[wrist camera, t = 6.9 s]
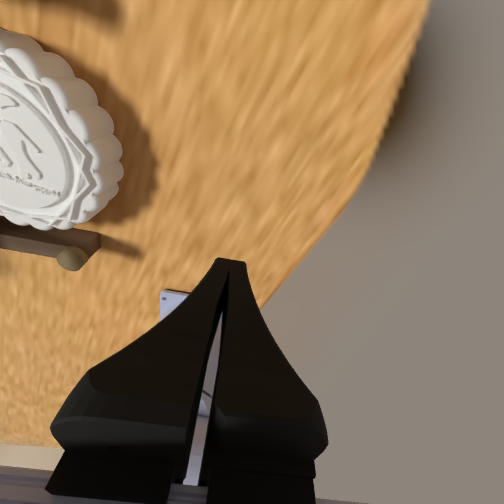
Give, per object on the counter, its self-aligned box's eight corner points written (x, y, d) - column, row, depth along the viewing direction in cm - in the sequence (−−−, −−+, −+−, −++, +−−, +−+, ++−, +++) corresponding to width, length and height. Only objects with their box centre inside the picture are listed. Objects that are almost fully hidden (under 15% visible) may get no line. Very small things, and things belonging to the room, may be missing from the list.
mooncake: (135, 85, 15) (105, 87, 12) (118, 233, 22) (95, 257, 19) (-92, -23, 13) (-195, -52, 10) (-35, 179, 20) (-87, 197, 17)
